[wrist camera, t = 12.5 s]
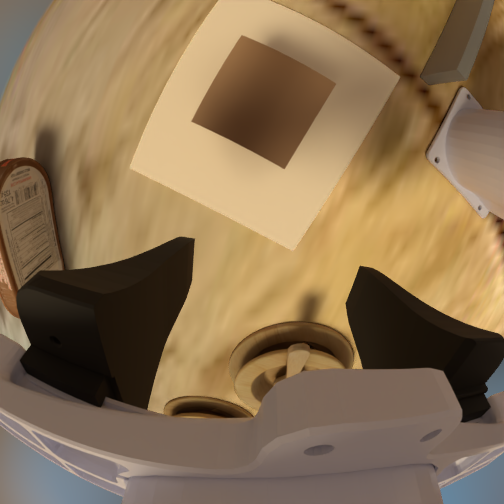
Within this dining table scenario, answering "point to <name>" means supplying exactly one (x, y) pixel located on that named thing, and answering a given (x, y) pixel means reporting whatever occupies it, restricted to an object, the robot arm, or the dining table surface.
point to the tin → (25, 227)
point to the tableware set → (269, 366)
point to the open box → (458, 42)
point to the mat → (243, 160)
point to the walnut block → (263, 101)
